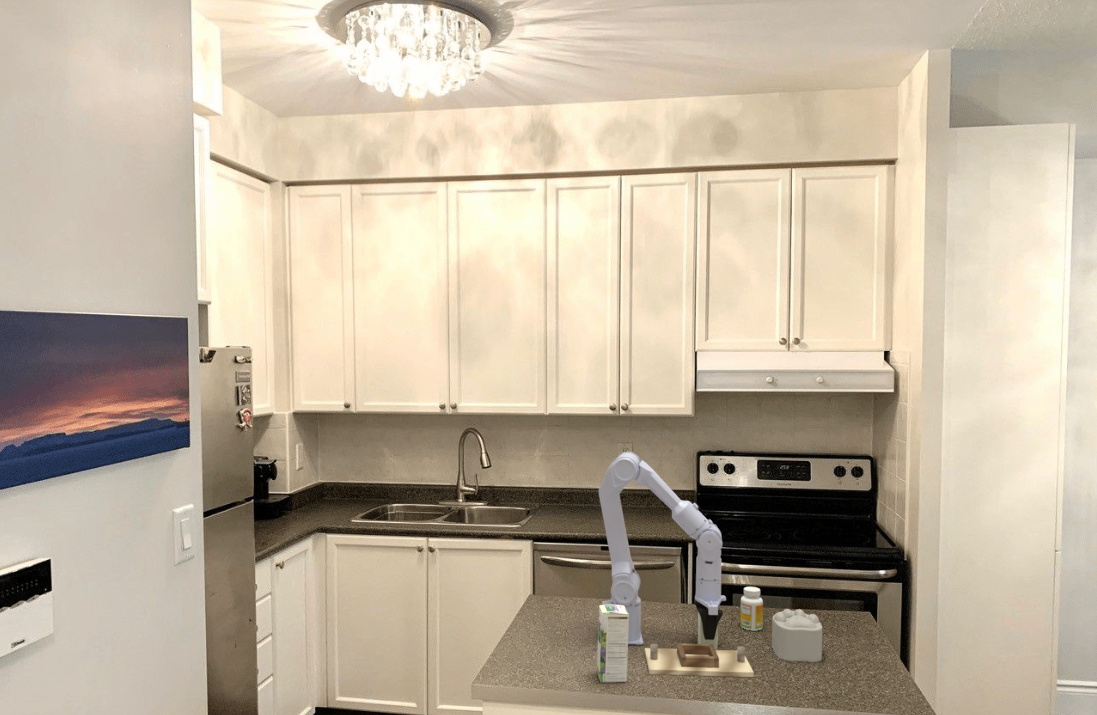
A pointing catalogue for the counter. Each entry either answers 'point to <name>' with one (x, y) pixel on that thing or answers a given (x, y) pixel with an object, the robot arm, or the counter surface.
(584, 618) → the counter surface
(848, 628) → the counter surface
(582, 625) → the counter surface
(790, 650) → the lumpy-topped squat cylinder
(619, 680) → the syrup box
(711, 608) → the robot arm
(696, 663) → the socket plate
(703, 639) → the sage peg
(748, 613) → the supplement bottle
